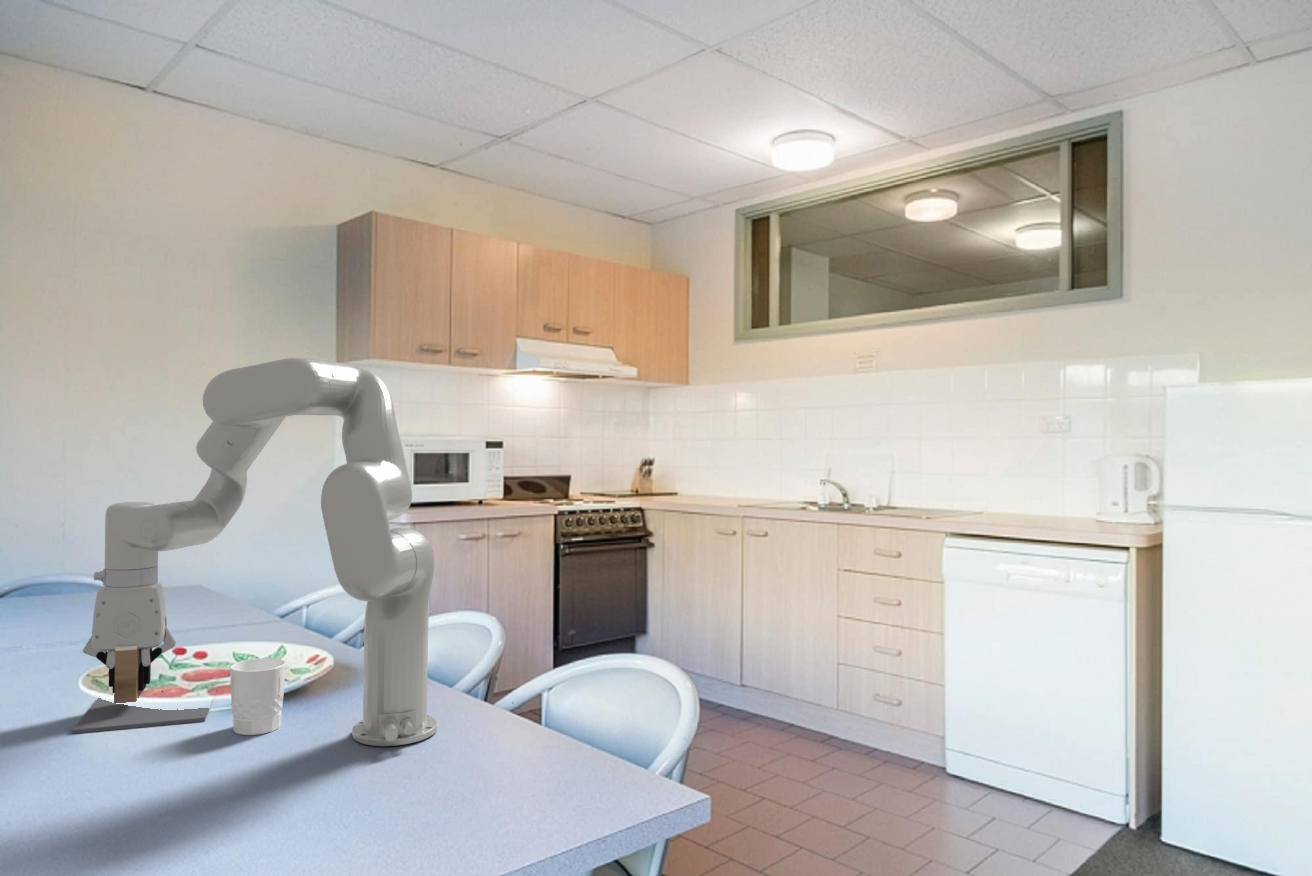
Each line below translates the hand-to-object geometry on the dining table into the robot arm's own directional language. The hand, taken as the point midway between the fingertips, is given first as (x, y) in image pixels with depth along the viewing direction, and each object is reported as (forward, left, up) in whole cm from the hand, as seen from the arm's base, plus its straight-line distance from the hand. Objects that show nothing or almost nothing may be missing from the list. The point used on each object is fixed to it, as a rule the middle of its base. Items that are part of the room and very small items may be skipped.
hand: (129, 688), depth 142 cm
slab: (0, 0, -1) cm, 1 cm away
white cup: (-15, -20, -4) cm, 25 cm away
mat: (0, -3, -4) cm, 5 cm away
